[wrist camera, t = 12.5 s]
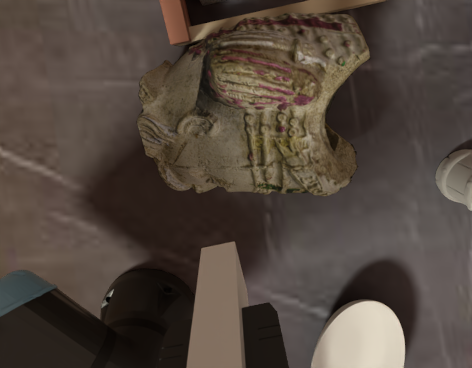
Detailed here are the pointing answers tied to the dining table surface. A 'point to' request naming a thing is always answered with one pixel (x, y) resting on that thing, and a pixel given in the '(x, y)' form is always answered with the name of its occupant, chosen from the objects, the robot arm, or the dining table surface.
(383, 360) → the bowl
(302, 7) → the channel
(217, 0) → the block
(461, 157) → the mug
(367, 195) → the dining table surface
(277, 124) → the sculptural head
